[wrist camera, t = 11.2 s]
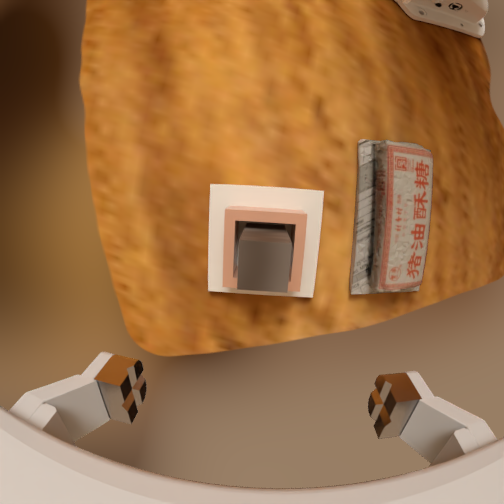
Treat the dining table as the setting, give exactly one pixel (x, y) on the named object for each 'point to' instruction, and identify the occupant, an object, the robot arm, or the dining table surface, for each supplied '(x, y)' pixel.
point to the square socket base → (263, 212)
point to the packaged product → (391, 217)
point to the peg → (264, 258)
